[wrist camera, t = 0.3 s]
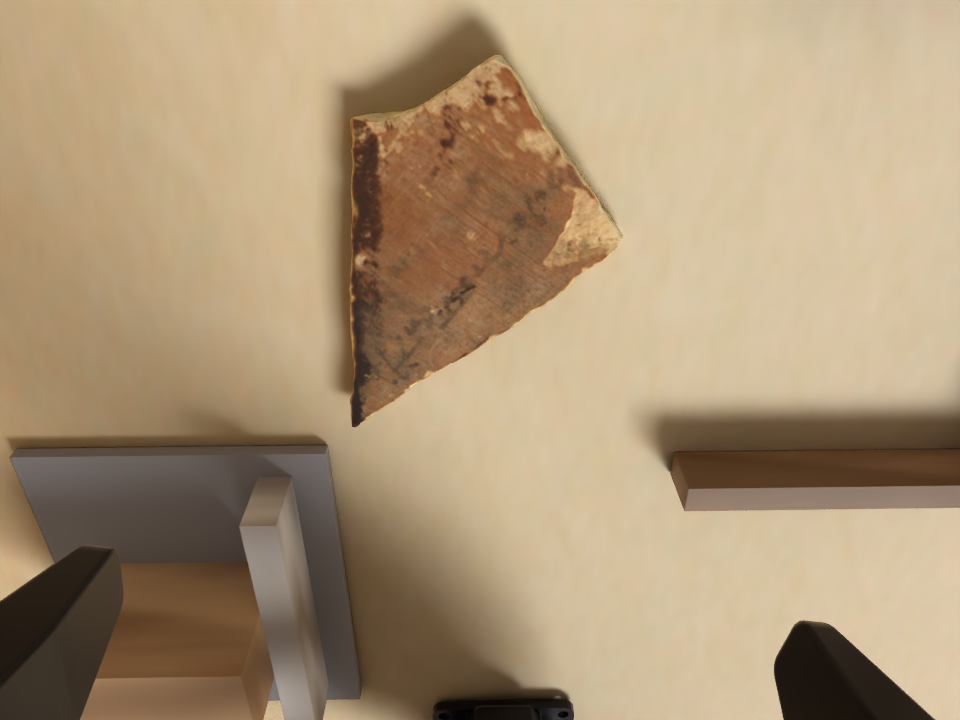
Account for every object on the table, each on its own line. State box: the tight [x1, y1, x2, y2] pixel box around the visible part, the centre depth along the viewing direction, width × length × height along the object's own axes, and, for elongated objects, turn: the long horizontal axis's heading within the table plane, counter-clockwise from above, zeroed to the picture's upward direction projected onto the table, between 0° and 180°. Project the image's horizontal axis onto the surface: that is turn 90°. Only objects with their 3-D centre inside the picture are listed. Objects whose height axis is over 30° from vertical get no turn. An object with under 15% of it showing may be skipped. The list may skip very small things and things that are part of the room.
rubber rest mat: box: [9, 445, 361, 701], centre depth 29 cm, size 14×11×1 cm
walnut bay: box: [670, 449, 960, 511], centre depth 21 cm, size 17×12×2 cm
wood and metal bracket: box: [80, 476, 329, 720], centre depth 26 cm, size 12×8×5 cm
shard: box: [349, 55, 623, 427], centre depth 21 cm, size 11×8×2 cm
